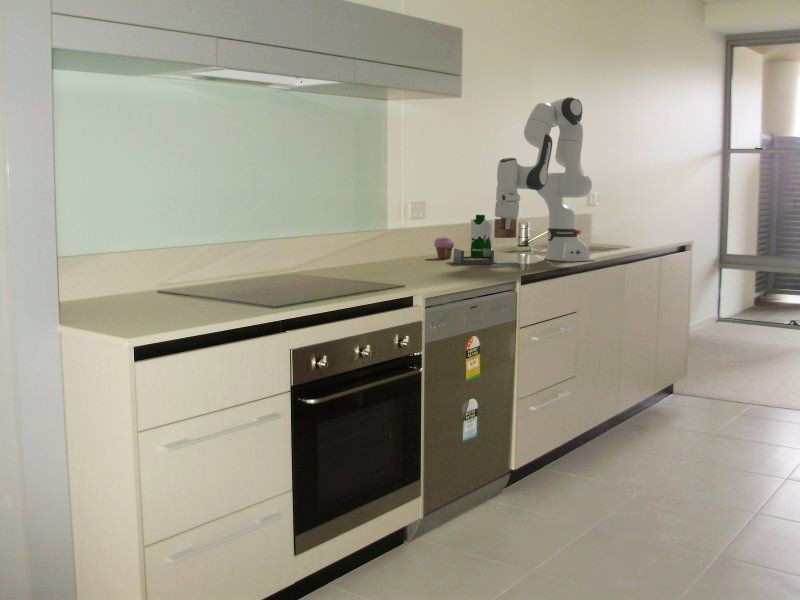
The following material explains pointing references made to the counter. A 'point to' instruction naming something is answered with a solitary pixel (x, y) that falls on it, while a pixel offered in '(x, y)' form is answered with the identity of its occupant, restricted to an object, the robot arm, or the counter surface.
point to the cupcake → (444, 247)
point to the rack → (486, 255)
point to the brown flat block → (505, 233)
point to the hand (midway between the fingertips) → (505, 228)
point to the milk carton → (480, 235)
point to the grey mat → (505, 262)
